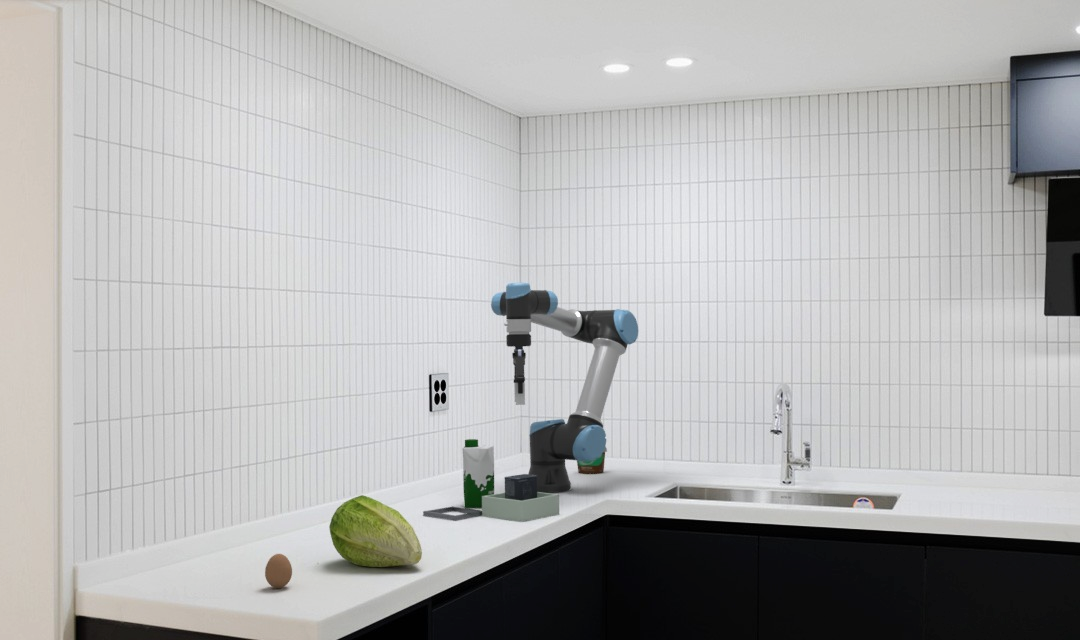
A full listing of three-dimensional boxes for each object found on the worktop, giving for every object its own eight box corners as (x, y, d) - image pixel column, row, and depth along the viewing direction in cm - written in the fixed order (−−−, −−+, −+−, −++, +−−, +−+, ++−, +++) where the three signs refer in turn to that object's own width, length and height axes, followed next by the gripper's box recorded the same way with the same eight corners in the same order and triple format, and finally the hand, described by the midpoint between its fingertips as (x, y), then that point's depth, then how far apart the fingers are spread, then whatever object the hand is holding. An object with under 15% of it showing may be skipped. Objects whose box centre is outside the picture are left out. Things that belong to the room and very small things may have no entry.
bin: (519, 508, 313) (519, 489, 313) (559, 514, 302) (558, 494, 302) (482, 515, 301) (481, 496, 301) (521, 521, 291) (521, 501, 291)
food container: (572, 474, 389) (571, 447, 389) (574, 472, 395) (574, 445, 395) (605, 474, 387) (605, 447, 387) (607, 472, 393) (606, 445, 393)
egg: (259, 590, 216) (259, 555, 216) (275, 584, 221) (275, 550, 221) (282, 592, 214) (281, 557, 214) (297, 585, 219) (297, 552, 219)
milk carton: (468, 503, 324) (467, 438, 324) (497, 504, 322) (496, 438, 323) (460, 508, 315) (459, 441, 316) (490, 508, 314) (489, 441, 314)
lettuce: (437, 580, 238) (385, 600, 226) (364, 536, 253) (311, 553, 241) (446, 520, 235) (394, 537, 223) (372, 478, 249) (319, 493, 237)
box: (525, 510, 307) (524, 473, 307) (538, 512, 302) (537, 475, 303) (504, 513, 301) (503, 476, 302) (517, 515, 297) (516, 478, 297)
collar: (452, 510, 312) (452, 506, 312) (484, 515, 303) (484, 510, 303) (423, 515, 303) (423, 511, 303) (455, 520, 294) (455, 516, 294)
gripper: (505, 333, 334) (506, 401, 334) (507, 333, 309) (508, 406, 309) (529, 333, 334) (530, 400, 334) (532, 333, 309) (533, 405, 309)
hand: (519, 403), depth 321 cm, fingers open, 13 cm apart
